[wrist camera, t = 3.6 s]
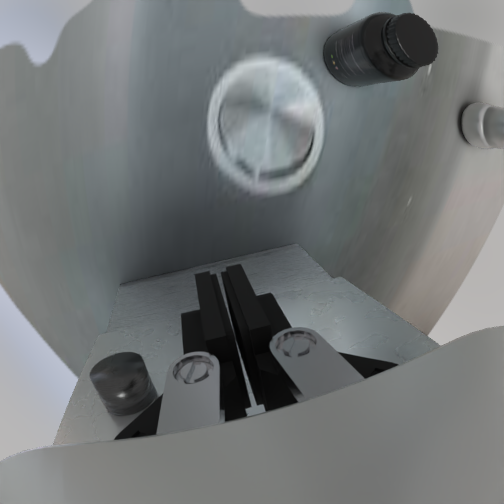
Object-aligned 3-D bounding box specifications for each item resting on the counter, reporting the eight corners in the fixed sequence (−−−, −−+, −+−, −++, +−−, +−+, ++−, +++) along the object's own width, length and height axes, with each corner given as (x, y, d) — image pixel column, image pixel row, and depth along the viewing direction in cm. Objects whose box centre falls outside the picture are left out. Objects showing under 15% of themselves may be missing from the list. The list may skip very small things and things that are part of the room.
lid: (509, 416, 9) (528, 363, 8) (40, 545, 6) (-7, 505, 5) (341, 287, 26) (338, 253, 25) (103, 345, 23) (90, 311, 22)
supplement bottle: (360, 26, 28) (429, -1, 17) (382, 78, 31) (456, 70, 20) (311, 38, 28) (372, 5, 17) (336, 94, 31) (406, 86, 20)
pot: (326, 355, 44) (361, 408, 34) (147, 400, 40) (147, 464, 30) (321, 237, 36) (372, 278, 26) (96, 289, 33) (72, 350, 23)
